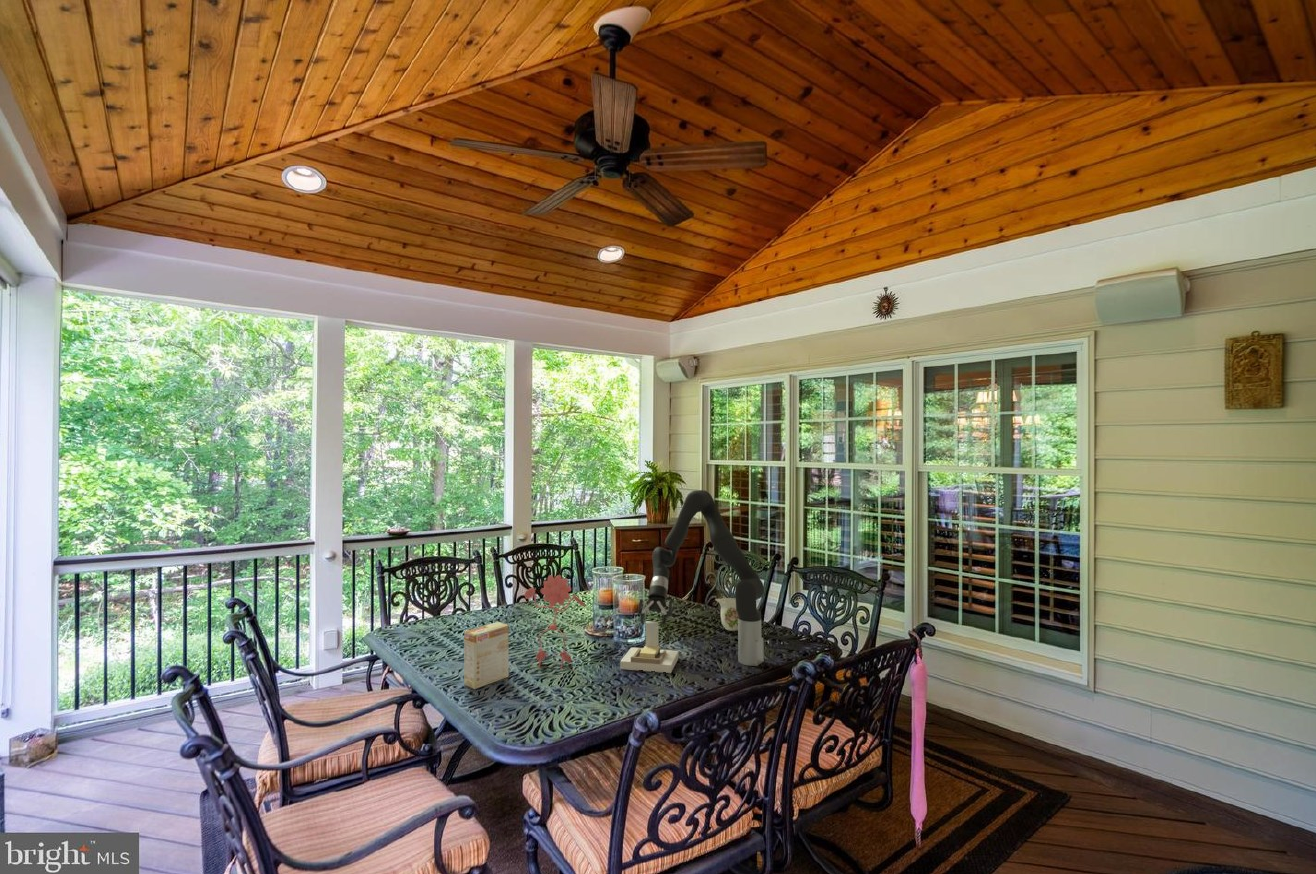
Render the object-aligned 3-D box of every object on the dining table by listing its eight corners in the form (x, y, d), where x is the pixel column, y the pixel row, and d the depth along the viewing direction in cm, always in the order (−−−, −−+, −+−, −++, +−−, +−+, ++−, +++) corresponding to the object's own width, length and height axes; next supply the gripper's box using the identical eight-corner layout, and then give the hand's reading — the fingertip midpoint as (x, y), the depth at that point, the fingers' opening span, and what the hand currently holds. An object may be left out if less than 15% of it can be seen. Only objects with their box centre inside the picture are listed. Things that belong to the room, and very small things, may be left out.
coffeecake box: (498, 672, 224) (498, 621, 224) (509, 677, 219) (509, 624, 219) (463, 684, 212) (463, 630, 212) (474, 689, 207) (474, 634, 208)
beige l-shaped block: (644, 651, 237) (644, 620, 237) (660, 652, 235) (660, 621, 236) (639, 659, 228) (639, 627, 228) (655, 660, 226) (655, 628, 227)
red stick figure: (581, 671, 224) (581, 579, 226) (518, 667, 229) (519, 577, 230) (593, 658, 239) (593, 572, 241) (533, 654, 244) (534, 570, 245)
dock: (678, 658, 238) (678, 646, 238) (670, 673, 222) (670, 660, 222) (631, 654, 243) (631, 642, 243) (620, 669, 227) (620, 656, 227)
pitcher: (754, 632, 270) (754, 603, 271) (715, 632, 272) (715, 602, 272) (752, 625, 281) (752, 597, 282) (715, 625, 283) (714, 596, 283)
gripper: (640, 583, 247) (634, 618, 236) (673, 585, 244) (668, 620, 233) (643, 593, 252) (637, 628, 241) (676, 594, 249) (671, 630, 238)
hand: (652, 624), depth 237 cm, fingers open, 8 cm apart
